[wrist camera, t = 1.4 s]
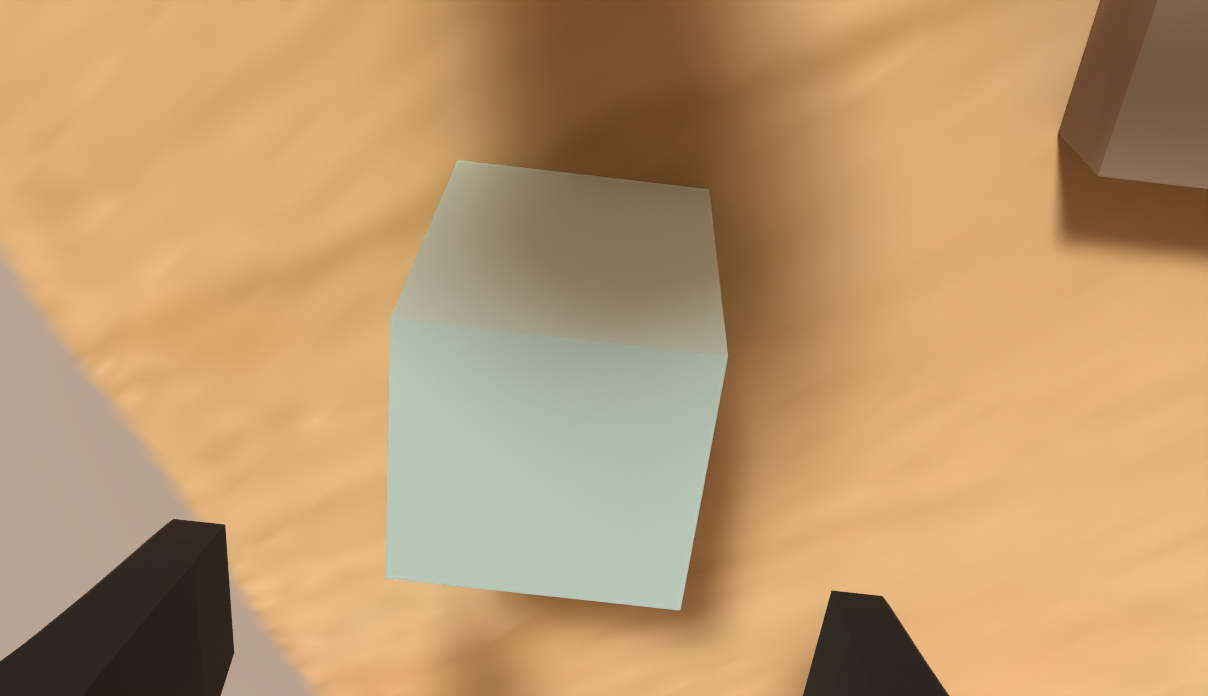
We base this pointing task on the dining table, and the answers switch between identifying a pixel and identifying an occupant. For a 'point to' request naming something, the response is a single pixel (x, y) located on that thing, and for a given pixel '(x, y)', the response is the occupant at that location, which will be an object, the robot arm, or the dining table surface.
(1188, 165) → the walnut stand
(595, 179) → the sage block
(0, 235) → the dining table surface
